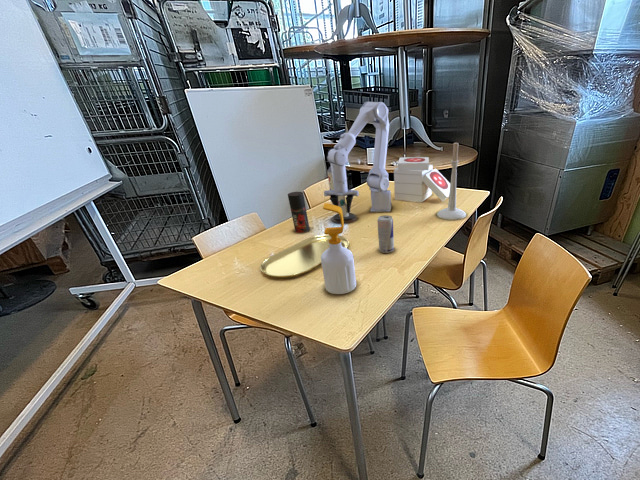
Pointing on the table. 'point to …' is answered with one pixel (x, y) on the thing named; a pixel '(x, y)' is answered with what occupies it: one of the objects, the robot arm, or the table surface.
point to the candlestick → (452, 193)
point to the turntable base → (345, 220)
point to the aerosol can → (332, 184)
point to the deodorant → (298, 212)
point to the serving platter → (298, 257)
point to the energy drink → (385, 234)
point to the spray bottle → (344, 211)
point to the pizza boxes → (418, 180)
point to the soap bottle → (337, 259)
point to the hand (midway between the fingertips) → (343, 212)
